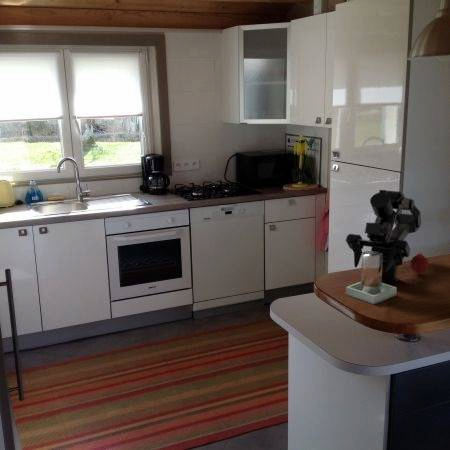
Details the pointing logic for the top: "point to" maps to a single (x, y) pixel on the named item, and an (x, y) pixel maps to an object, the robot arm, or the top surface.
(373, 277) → the tin
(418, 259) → the onion
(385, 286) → the pale green square tray
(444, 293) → the top surface
